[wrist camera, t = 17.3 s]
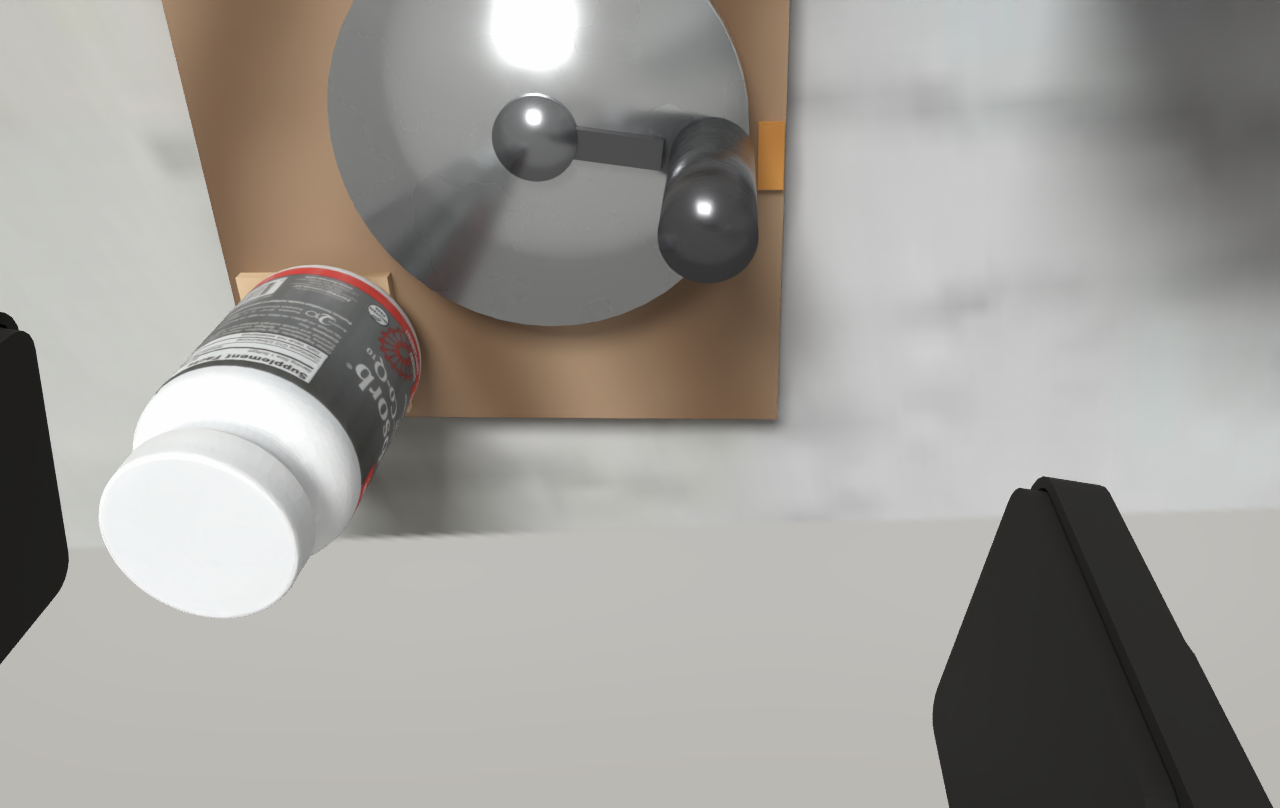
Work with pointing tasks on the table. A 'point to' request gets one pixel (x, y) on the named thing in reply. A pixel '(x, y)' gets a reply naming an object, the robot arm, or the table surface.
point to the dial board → (447, 332)
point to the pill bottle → (262, 442)
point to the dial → (547, 149)
